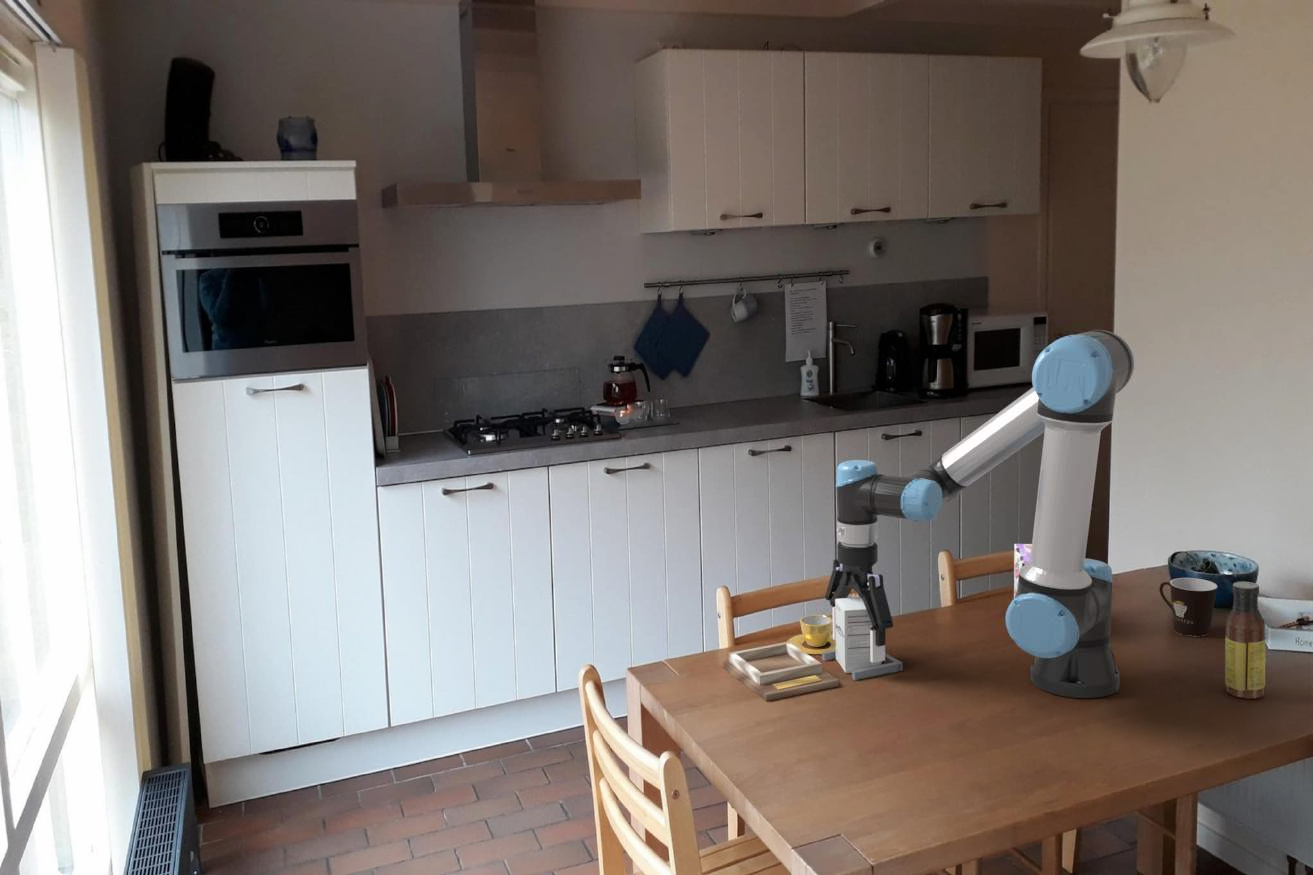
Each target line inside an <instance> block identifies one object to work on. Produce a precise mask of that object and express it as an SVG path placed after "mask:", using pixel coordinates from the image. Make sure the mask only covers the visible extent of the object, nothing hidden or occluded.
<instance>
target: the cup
mask: <svg viewBox="0 0 1313 875" xmlns="http://www.w3.org/2000/svg"><path fill="white" fill-rule="evenodd" d="M799 622H800V628H801V633H802V634H801V633H800V634H797V635H794V636H792V637H790V638H789V639H788V640H787V641H786V642H789V643H791V644H792V645H794V646H796V647H797V648H799V649H800V650H802V651H803V652H805V653H806V654H808V655H822V652H824V651H830V650H835V649H836V640H834V639H833V634H832V632H833V619H832V617H829V616H827V615H823V614H822V615H821V614H810V615H805V616H803V617H801V618H800V620H799ZM804 642H806V644H807V645H808V646H810V647H813V649H812V648H807V647H805V646H803V643H804ZM827 643H829V644H830V646H829V647H826V648H822V647H823V646H826V644H827ZM820 647H821V648H822V649H821V648H820ZM814 648H820V649H814Z"/></svg>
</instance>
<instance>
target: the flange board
mask: <svg viewBox="0 0 1313 875" xmlns="http://www.w3.org/2000/svg"><path fill="white" fill-rule="evenodd" d="M722 663H723V664H722V665H723V669H724V670H726V671H727V672H728V673H730V674H731V675H732V676H733V677H735V678H736V679H737V680H738V681H740V682H741V683H742V684H744V685H745V686H746V687H747V686H748V687H747V688H749V689H750V690H752V692H754V693H755V694H757V696H759V697H760V698H761V699H762V700H764V701H766V702H770V701H774V700H778V699H784V698H788V697H792V696H793V695H794V696H798V695H803V694H807V692H808V693H812V692H816V691H823V690H826V689H832V688H836V687H839V686H840V680H839V678H837V677H835V676H834V675H833V674H830V673H829V672H827V671H826V670H825V669H823V668H822V666H823V665H822V663H821V662H820V661H819V660H817V659H815V658H814V657H813V656H811V655H810V654H807V653H805V652H803V651H802V650H800V649H799V648H797V647H796V646H794V645H792V644H791V643H789V642H787V641H785V642H779V643H774V644H768V645H764V646H758V647H753V648H748V649H743V650H736V651H731V652H728V660H726V661H722ZM794 696H793V697H794Z"/></svg>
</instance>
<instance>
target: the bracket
mask: <svg viewBox="0 0 1313 875" xmlns="http://www.w3.org/2000/svg"><path fill="white" fill-rule="evenodd" d="M821 660H822V661H824V662H827V661H831V660H832V661H833V660H836V649H835V650H830V651H824V652H822V654H821ZM882 663H883V664H882V665H878V666H874V667H869V668H864V669H859V670H854V671H852V673H851V679H852V680H854V681H858V680H862V679H867V678H873V677H878V676H882V675H883V676H884V675H887V674H891V673H898V672H901V671H903V669H904V668H903V662H902V661H900V660H898V659H896V658H895V657H893V656H891V655H890V654H888V653H886V652H885V660H884V661H882Z"/></svg>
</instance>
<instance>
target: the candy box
mask: <svg viewBox="0 0 1313 875" xmlns="http://www.w3.org/2000/svg"><path fill="white" fill-rule="evenodd" d="M1013 547H1014V548H1013V549H1014V551H1013V553H1014V554H1013V556H1014V557H1013V564H1014V565H1013V567H1014V569H1013V575H1014V576H1013V580H1014V581H1013V583H1014V584H1013V599H1015V598H1016V596H1017V588H1018V580H1019V572H1020V568H1021V567H1023V566H1024V565H1026V564H1027V563H1029V562H1030V557H1031V548H1032V543H1014V546H1013Z"/></svg>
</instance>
